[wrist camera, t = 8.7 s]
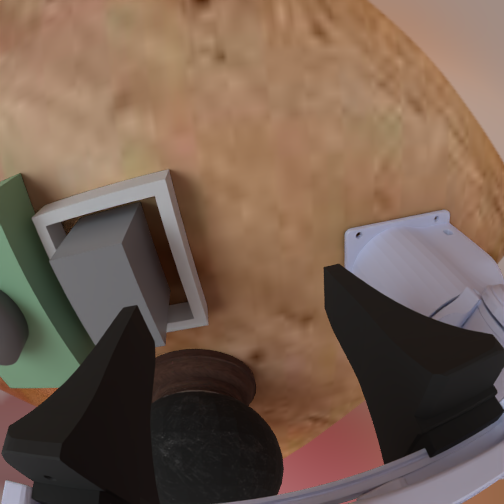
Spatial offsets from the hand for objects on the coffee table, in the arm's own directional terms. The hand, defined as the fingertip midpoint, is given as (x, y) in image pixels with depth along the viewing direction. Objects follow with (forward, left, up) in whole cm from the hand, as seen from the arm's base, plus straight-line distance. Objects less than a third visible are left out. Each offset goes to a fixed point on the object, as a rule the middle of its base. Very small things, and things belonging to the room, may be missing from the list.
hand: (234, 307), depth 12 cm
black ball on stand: (+6, +17, -10) cm, 20 cm away
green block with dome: (+13, +2, -9) cm, 16 cm away
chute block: (+7, +2, -10) cm, 12 cm away
